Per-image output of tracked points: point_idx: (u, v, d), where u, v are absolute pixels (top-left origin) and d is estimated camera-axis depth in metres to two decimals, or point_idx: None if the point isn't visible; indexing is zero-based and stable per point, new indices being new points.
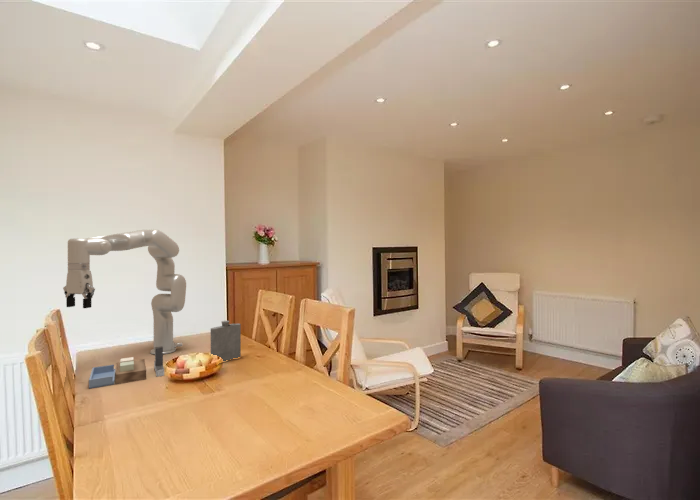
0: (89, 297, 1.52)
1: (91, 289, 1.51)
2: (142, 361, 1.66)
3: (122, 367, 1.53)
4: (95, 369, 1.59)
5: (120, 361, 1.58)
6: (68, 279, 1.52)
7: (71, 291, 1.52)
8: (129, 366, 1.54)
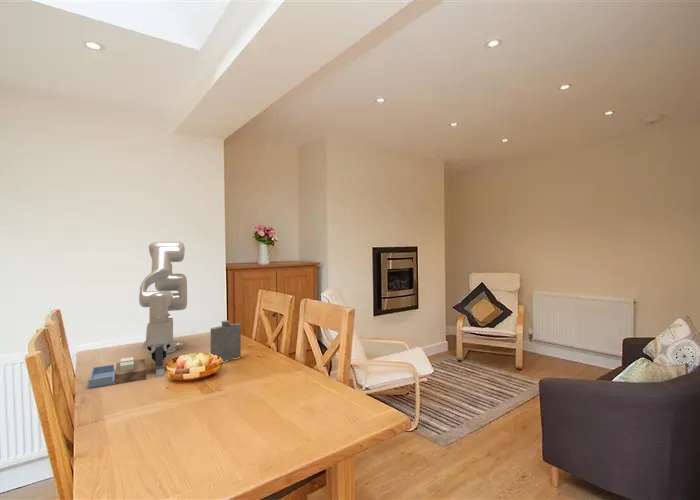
0: None
1: (173, 342, 1.68)
2: (142, 361, 1.66)
3: (122, 367, 1.53)
4: (95, 369, 1.59)
5: (120, 361, 1.58)
6: (151, 332, 1.62)
7: (155, 343, 1.63)
8: (129, 366, 1.54)
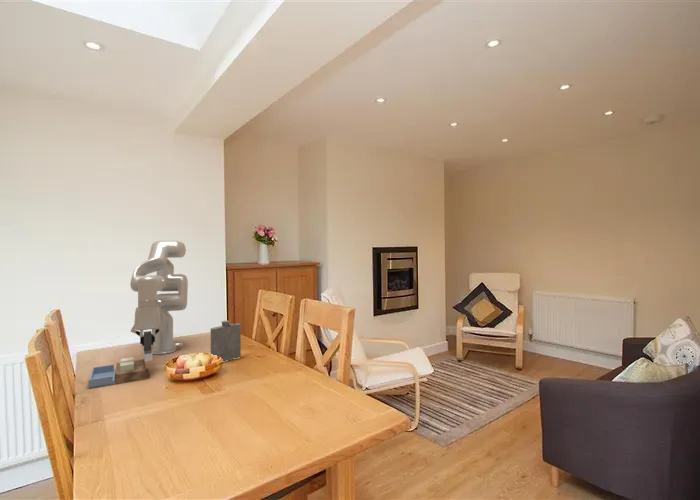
0: None
1: (162, 327, 1.65)
2: (142, 361, 1.66)
3: (122, 367, 1.53)
4: (95, 369, 1.59)
5: (120, 361, 1.58)
6: (140, 316, 1.59)
7: (144, 327, 1.60)
8: (129, 366, 1.54)
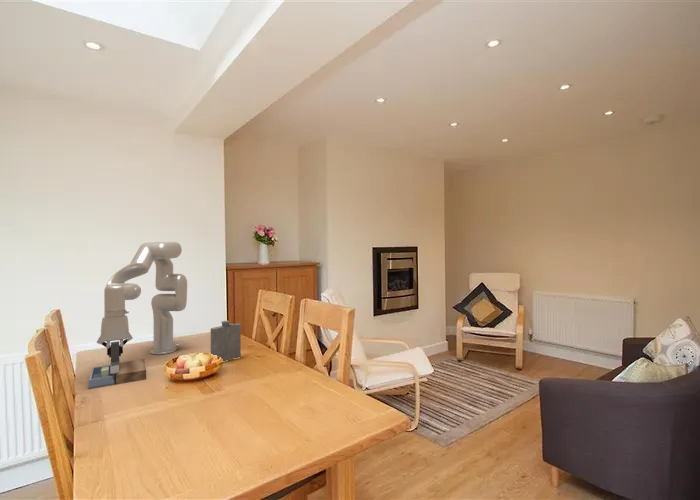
0: None
1: (131, 338, 1.59)
2: (142, 361, 1.66)
3: None
4: (95, 369, 1.59)
5: None
6: (106, 327, 1.53)
7: (111, 338, 1.54)
8: (103, 374, 1.49)
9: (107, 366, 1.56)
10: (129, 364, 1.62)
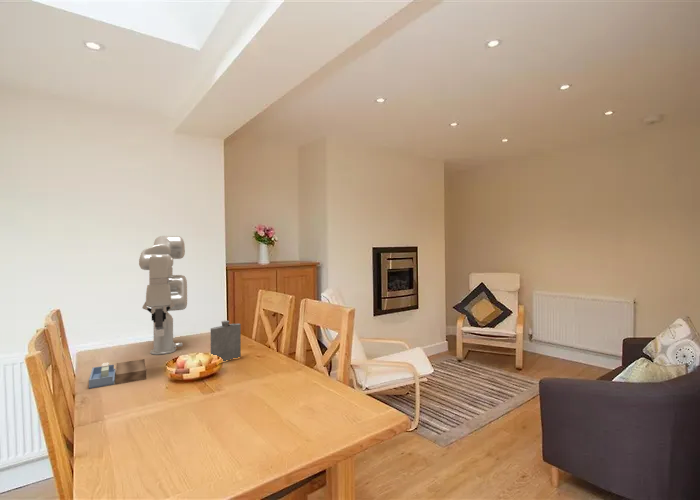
0: (166, 312, 1.67)
1: (173, 305, 1.68)
2: (142, 361, 1.66)
3: None
4: (95, 369, 1.59)
5: None
6: (151, 293, 1.62)
7: (155, 304, 1.63)
8: (103, 374, 1.49)
9: (107, 366, 1.56)
10: (129, 364, 1.62)
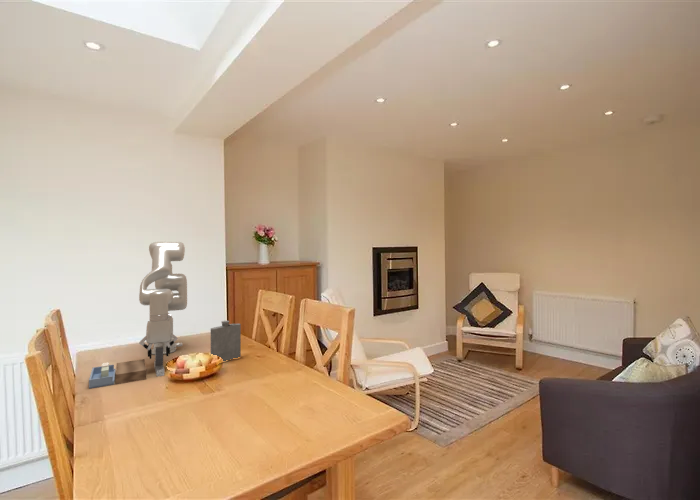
0: None
1: (176, 338, 1.69)
2: (142, 361, 1.66)
3: None
4: (95, 369, 1.59)
5: None
6: (152, 330, 1.62)
7: (155, 341, 1.63)
8: (103, 374, 1.49)
9: (107, 366, 1.56)
10: (129, 364, 1.62)
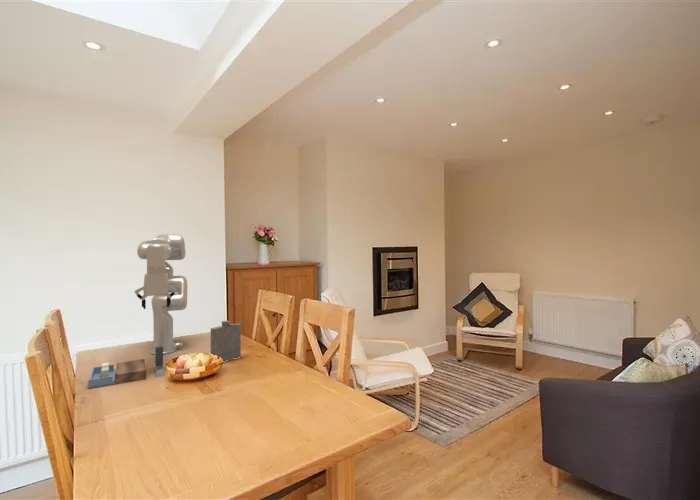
0: (171, 296, 1.70)
1: (175, 289, 1.71)
2: (142, 361, 1.66)
3: None
4: (95, 369, 1.59)
5: None
6: (149, 282, 1.63)
7: (153, 293, 1.64)
8: (103, 374, 1.49)
9: (107, 366, 1.56)
10: (129, 364, 1.62)
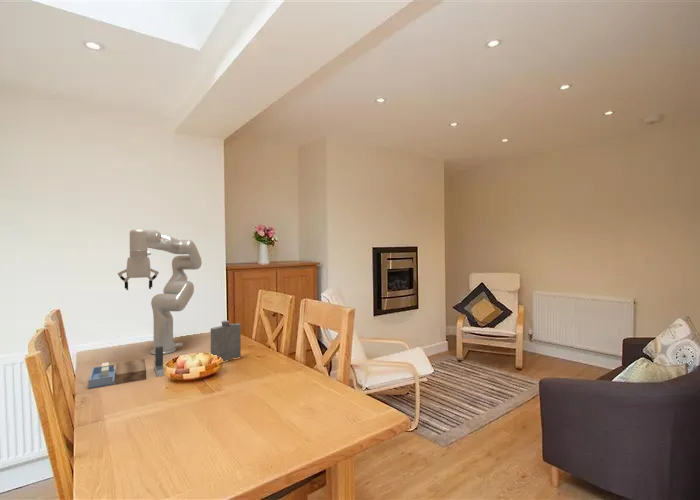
0: (153, 279, 1.80)
1: (157, 272, 1.80)
2: (142, 361, 1.66)
3: None
4: (95, 369, 1.59)
5: None
6: (131, 264, 1.73)
7: (135, 275, 1.74)
8: (103, 374, 1.49)
9: (107, 366, 1.56)
10: (129, 364, 1.62)
